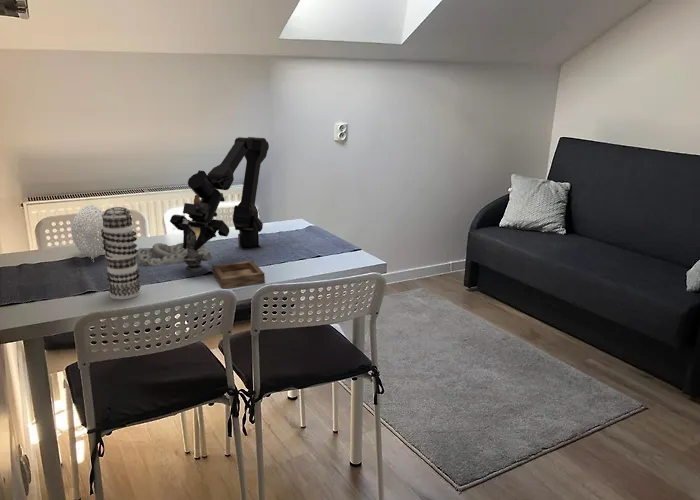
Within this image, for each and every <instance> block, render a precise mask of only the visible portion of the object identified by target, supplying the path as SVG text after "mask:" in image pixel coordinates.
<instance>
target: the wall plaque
mask: <svg viewBox="0 0 700 500" xmlns="http://www.w3.org/2000/svg"><path fill="white" fill-rule="evenodd" d="M196 240H197V239H196ZM136 250H137V256H136V258H137V257H138V258H139V259H138V258H137V259H138V263H139V264H138V265H139V267H157V266H156V265H159V266H164V265H163V264H166V265H173V264H174V265H175V264H182V263H185V260H184V259H183V257H184V256H186V255H187V253H188V250H187V248H186V249H184V248H183V242H180V243H177V244H172V245H168V244H166V243H162V242H161V243H160V242H157V243H154V244H153V245H152V247H139V248H138V249H136ZM198 254H199V255H202V256H203V258H202V260H204V261H205V260H206V261H209V260H210V258H212V257H211V256H212V254H211V252H210V251H209V250H208V248H207V247H206V245H205V244H204V245H202V246H201V247H200V248H199V249H198ZM152 258H156V259H152ZM139 260H140V261H139Z"/></svg>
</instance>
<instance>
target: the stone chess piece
mask: <svg viewBox="0 0 700 500" xmlns="http://www.w3.org/2000/svg"><path fill="white" fill-rule="evenodd" d="M196 241H197V240H196V235H195V234H192V232H190V234H189V235H187V245H186V247H187V250H188V253H187V255H186V256H184V257H183V259H184V260H185V262H184V263H185V264H186V265H187V266H185V269H184V270H186V271H188V272H197V271H200V270H202V269H203V265H201V263H202V261H203V259H202V258H203V256H202V255H199V254H198V250H197V251H195V250H194V246H195V244H196Z"/></svg>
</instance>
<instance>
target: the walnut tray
mask: <svg viewBox="0 0 700 500" xmlns="http://www.w3.org/2000/svg"><path fill="white" fill-rule="evenodd" d="M211 266H212V267H211V268H212V270H211V271H212V276H213V278H214V279H215V281H216V282H217V283H218V284H219V287H220V288H221V289H222V288H223V289H229V288H230V289H231V288H235V287H243V286H253V285H260V284H265V283H266V282H265V273H264V271H262V269H261V268H260V267H259V266H258V265H257V264H256V263H255V262H254V260H247V261H239V262H233V263H232V262H231V263H223V264H215V265H211Z"/></svg>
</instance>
